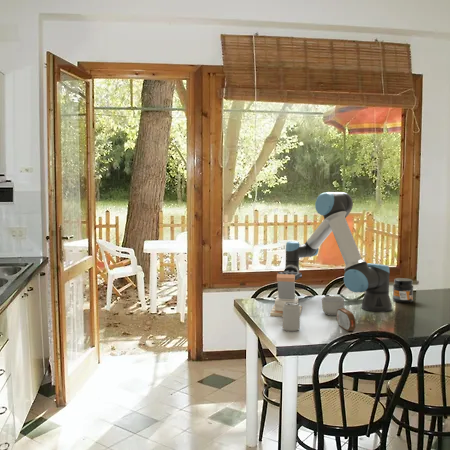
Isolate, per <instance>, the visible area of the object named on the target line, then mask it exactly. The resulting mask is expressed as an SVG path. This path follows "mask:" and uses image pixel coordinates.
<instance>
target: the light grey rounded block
mask: <svg viewBox="0 0 450 450" xmlns="http://www.w3.org/2000/svg"><path fill="white" fill-rule="evenodd" d="M321 307H322V308H321V309H322V311H323V312H324V313H325V314H326V315H328V316H337V310H338V309H341V308H345V298H344V297H341V296H335V295H334V296H333V295H328V296H323V297H322V298H321Z"/></svg>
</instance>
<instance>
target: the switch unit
mask: <svg viewBox="0 0 450 450" xmlns="http://www.w3.org/2000/svg"><path fill="white" fill-rule="evenodd" d="M286 302H296V303H298V304H299V298H298V297H297V298H296V297H295V299H279V298H278V296H277V297H276V298H275V299H274V305H273V307H272V308H271V311H270V312H269V313H270V315H269V316H271V317H282V318H283V306H284V305H285V304H284V303H286ZM299 306H300V315H301V313H302V309H303V306H302V305H299Z"/></svg>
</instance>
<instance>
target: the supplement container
mask: <svg viewBox="0 0 450 450" xmlns="http://www.w3.org/2000/svg"><path fill="white" fill-rule="evenodd" d="M393 282H394V283H393V285H392V287H393V288H392V300H393V301H394V302H395V301H396V303H399V302H402V303H401V304H409V302H410V303H412V302H413V300H414V299H413V298H414V285H413V282H414V281H413V279H412V278H407V277H404V278H403V277H397V278H396V277H395V278H394V281H393Z"/></svg>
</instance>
